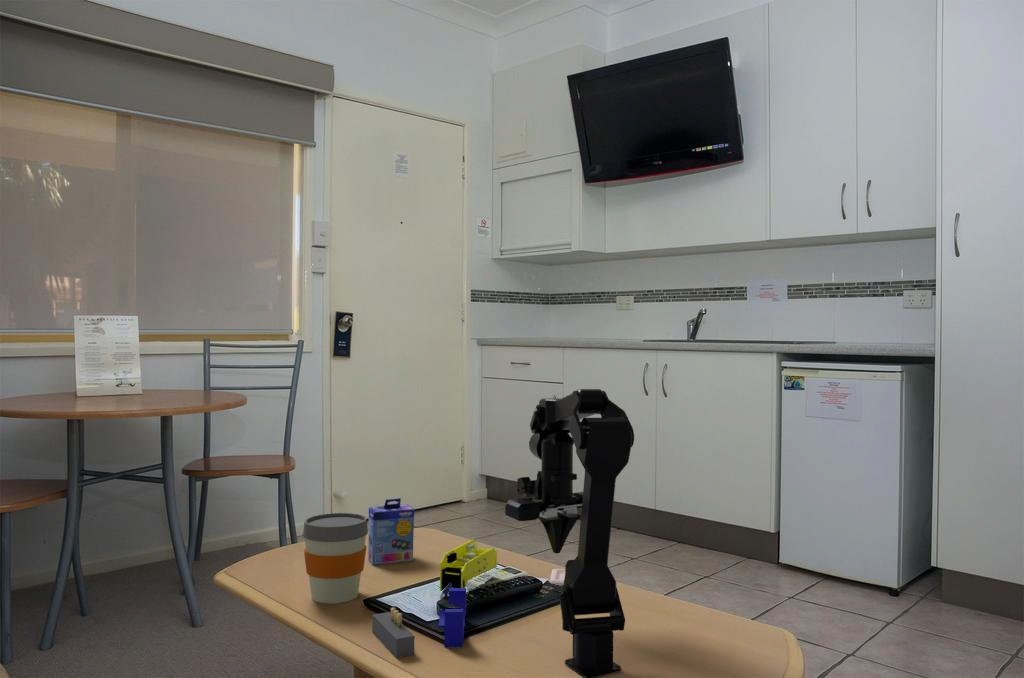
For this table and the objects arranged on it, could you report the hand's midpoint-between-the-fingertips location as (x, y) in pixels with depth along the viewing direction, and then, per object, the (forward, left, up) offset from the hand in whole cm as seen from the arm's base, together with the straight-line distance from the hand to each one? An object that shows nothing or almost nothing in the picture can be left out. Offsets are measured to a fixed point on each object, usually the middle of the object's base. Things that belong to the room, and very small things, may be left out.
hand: (556, 552), depth 135 cm
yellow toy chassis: (+23, +6, -12) cm, 27 cm away
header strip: (+3, +30, -12) cm, 32 cm away
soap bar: (+16, -12, -13) cm, 24 cm away
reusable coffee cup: (+31, +32, -12) cm, 46 cm away
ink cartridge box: (+49, +14, -12) cm, 52 cm away
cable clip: (+3, +20, -12) cm, 23 cm away
